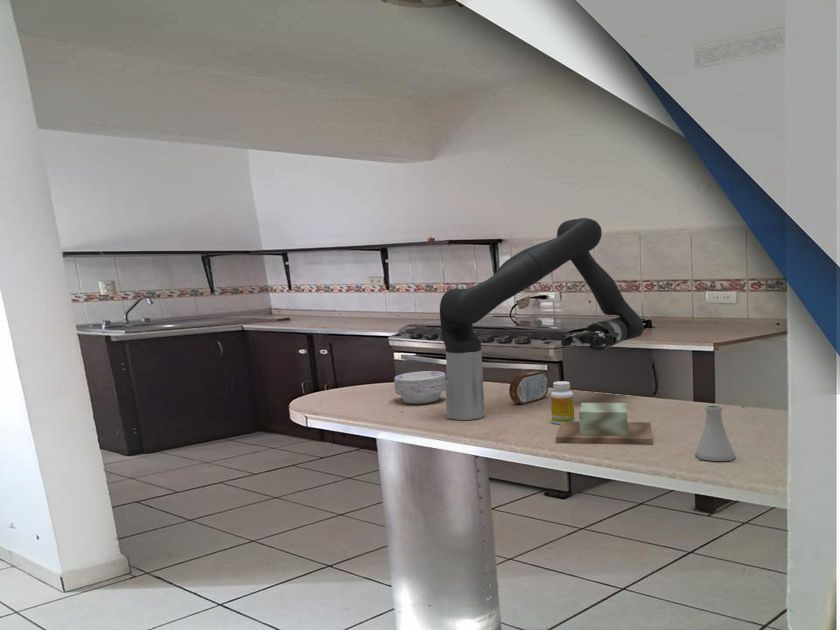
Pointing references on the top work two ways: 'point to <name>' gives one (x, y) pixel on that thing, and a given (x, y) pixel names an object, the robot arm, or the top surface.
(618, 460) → the top surface
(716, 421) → the flask
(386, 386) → the top surface
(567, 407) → the supplement bottle
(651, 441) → the pedestal
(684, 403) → the top surface
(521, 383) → the tin
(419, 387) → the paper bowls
